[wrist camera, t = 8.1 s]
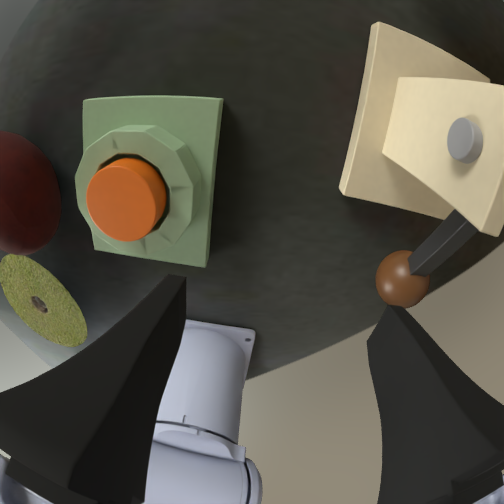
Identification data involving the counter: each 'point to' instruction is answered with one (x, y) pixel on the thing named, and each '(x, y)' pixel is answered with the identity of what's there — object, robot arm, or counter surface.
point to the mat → (42, 301)
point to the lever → (421, 262)
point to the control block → (157, 167)
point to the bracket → (427, 133)
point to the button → (126, 199)
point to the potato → (26, 196)
